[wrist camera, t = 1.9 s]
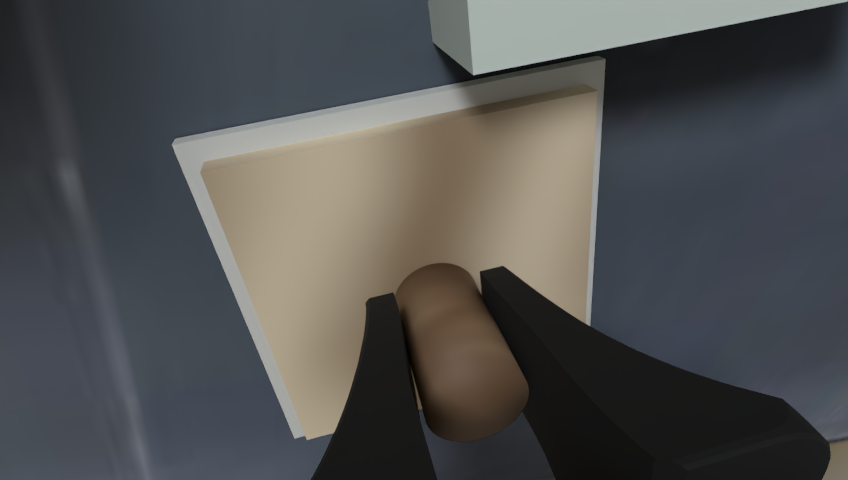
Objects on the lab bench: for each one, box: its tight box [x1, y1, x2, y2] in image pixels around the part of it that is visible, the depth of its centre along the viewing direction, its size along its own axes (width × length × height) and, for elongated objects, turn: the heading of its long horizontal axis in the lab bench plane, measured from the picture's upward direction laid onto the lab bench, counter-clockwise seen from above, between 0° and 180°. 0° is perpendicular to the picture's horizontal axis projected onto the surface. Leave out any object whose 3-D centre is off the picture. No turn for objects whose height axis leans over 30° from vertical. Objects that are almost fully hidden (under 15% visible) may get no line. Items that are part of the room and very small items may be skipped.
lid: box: [200, 84, 597, 442], centre depth 12 cm, size 9×9×5 cm
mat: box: [172, 56, 606, 438], centre depth 15 cm, size 10×10×1 cm
